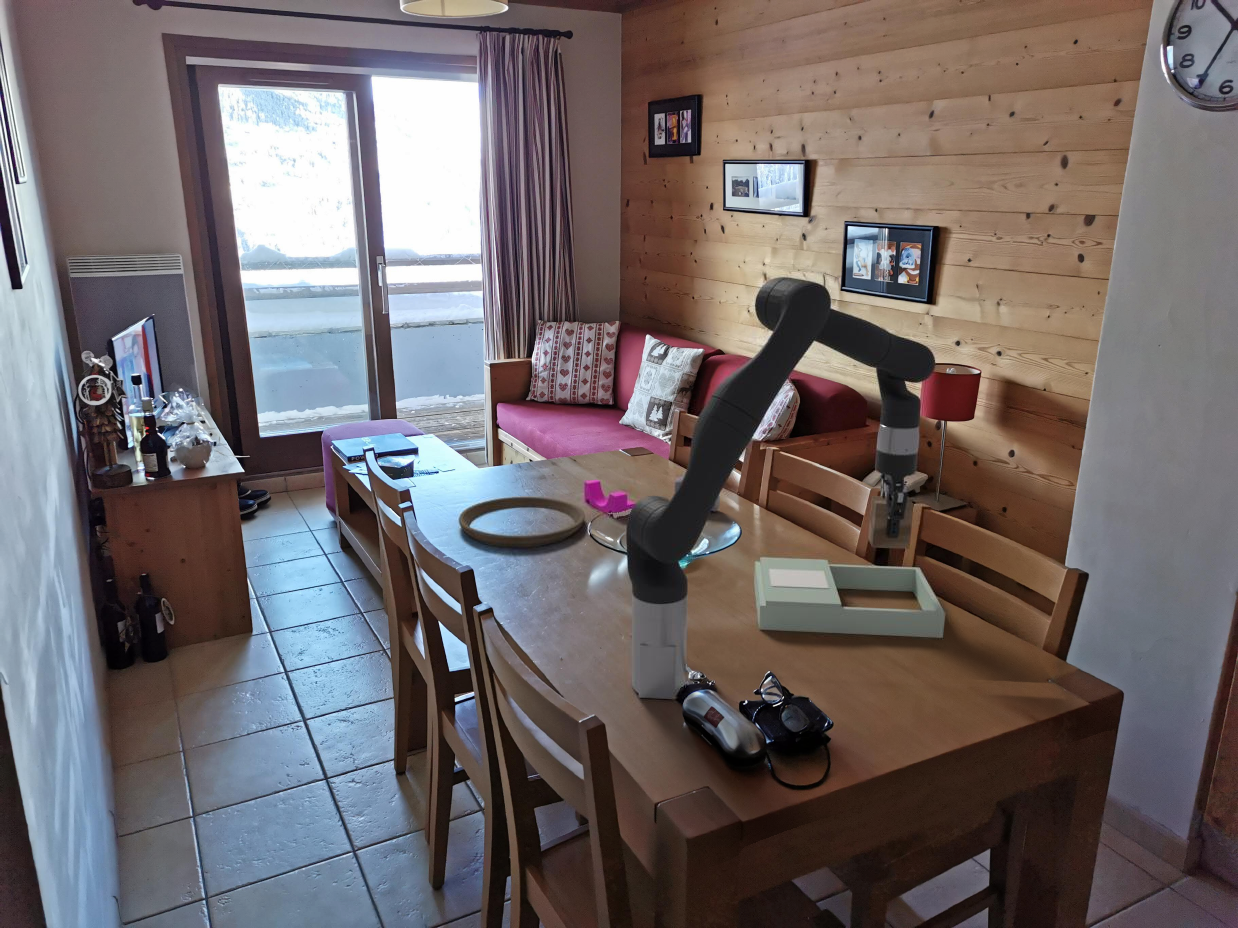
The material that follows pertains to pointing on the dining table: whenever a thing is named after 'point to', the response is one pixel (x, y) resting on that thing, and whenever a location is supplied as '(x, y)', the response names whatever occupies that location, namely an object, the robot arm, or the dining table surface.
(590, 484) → the toy block
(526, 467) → the dining table surface
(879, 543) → the wood block
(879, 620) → the box
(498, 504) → the brown flat ring
